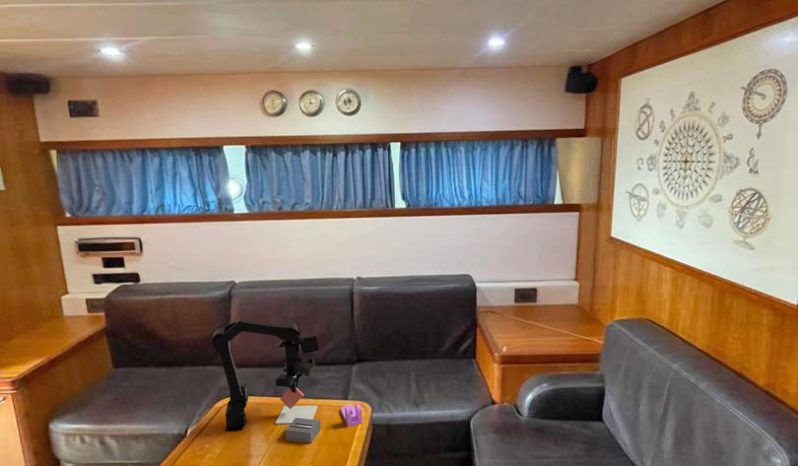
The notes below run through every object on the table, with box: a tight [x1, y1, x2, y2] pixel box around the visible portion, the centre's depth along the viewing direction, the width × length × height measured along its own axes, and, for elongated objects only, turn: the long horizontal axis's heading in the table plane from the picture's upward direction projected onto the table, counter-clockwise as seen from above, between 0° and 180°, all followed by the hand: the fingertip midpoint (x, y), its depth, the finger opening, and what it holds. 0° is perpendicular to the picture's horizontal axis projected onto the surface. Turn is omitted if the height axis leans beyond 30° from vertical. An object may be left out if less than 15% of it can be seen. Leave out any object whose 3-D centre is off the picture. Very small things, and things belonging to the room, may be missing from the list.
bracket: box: [340, 403, 363, 428], centre depth 176 cm, size 13×6×7 cm, turn 21°
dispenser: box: [285, 418, 321, 444], centre depth 166 cm, size 10×8×5 cm
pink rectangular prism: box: [279, 387, 305, 409], centre depth 178 cm, size 6×1×9 cm
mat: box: [274, 405, 319, 425], centre depth 179 cm, size 14×12×1 cm
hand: (294, 392), depth 177 cm, fingers closed on pink rectangular prism, 1 cm apart
